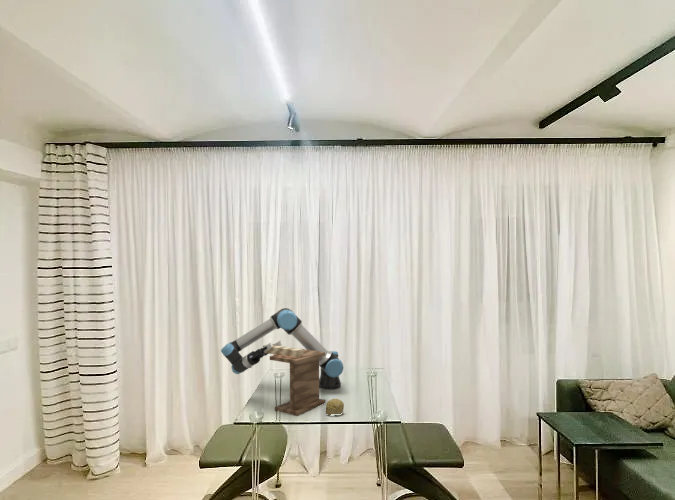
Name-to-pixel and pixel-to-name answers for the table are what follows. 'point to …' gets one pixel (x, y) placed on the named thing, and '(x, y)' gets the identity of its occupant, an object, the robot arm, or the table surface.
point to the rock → (334, 406)
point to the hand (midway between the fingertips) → (276, 343)
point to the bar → (285, 351)
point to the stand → (302, 382)
